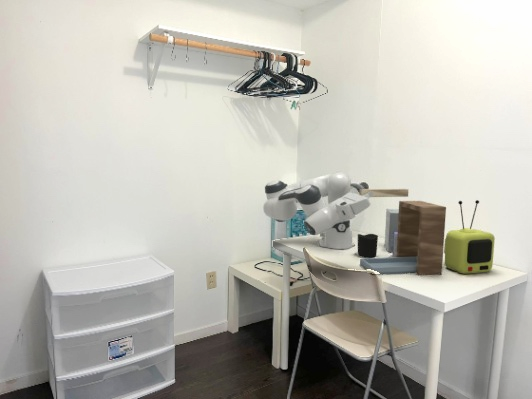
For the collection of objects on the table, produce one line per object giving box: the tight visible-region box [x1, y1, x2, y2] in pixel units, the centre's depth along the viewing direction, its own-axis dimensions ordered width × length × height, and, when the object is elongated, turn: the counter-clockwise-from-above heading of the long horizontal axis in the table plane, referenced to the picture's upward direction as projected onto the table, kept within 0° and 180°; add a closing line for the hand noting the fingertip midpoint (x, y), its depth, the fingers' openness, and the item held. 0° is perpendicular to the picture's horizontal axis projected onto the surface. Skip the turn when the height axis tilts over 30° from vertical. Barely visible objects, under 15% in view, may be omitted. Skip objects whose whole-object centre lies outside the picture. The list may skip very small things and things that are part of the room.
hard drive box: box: [384, 208, 399, 253], centre depth 206 cm, size 16×8×20 cm, turn 170°
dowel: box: [359, 188, 409, 198], centre depth 167 cm, size 3×20×3 cm, turn 98°
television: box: [443, 199, 495, 275], centre depth 172 cm, size 18×18×30 cm
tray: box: [359, 256, 417, 276], centre depth 173 cm, size 14×27×3 cm, turn 99°
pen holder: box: [357, 233, 379, 258], centre depth 193 cm, size 9×9×10 cm
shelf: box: [396, 200, 447, 276], centre depth 172 cm, size 20×10×28 cm, turn 9°
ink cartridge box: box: [391, 232, 398, 258], centre depth 188 cm, size 10×6×14 cm, turn 78°
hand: (369, 192), depth 166 cm, fingers closed on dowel, 3 cm apart
